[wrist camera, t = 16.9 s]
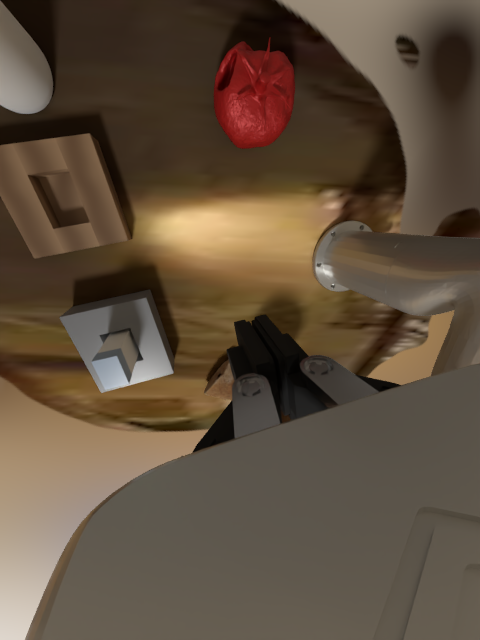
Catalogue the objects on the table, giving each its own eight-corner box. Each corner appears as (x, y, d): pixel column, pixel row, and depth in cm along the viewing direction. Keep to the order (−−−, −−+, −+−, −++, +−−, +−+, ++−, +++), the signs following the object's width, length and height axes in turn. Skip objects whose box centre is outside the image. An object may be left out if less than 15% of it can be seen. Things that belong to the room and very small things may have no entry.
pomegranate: (290, 134, 34) (325, 109, 26) (230, 167, 34) (247, 152, 26) (264, 45, 30) (297, -20, 21) (195, 83, 30) (202, 32, 21)
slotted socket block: (97, 140, 30) (89, 133, 27) (132, 238, 35) (128, 240, 32) (-6, 155, 28) (-26, 148, 25) (46, 255, 33) (34, 258, 31)
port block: (150, 289, 38) (145, 298, 34) (174, 359, 44) (173, 374, 40) (72, 306, 37) (57, 318, 32) (109, 376, 43) (100, 394, 38)
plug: (132, 322, 39) (116, 355, 30) (141, 345, 41) (129, 384, 32) (113, 326, 39) (91, 361, 29) (123, 349, 41) (105, 389, 31)
